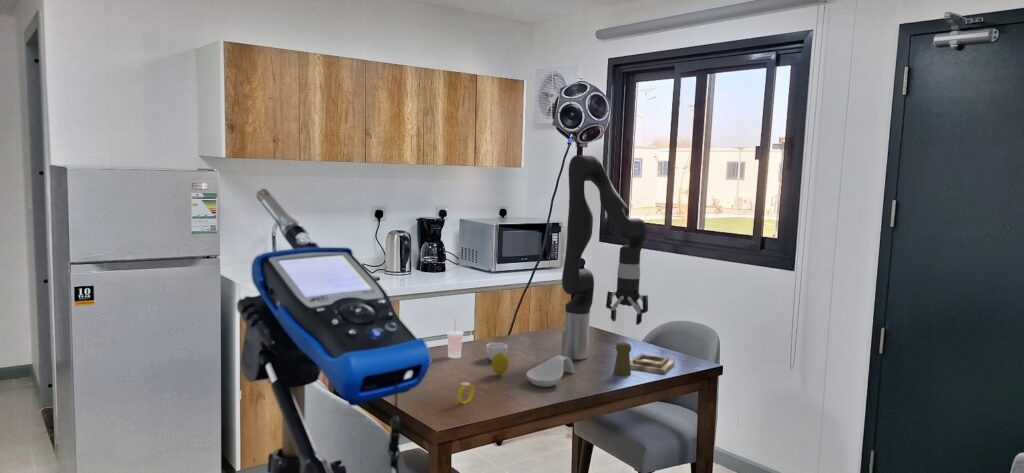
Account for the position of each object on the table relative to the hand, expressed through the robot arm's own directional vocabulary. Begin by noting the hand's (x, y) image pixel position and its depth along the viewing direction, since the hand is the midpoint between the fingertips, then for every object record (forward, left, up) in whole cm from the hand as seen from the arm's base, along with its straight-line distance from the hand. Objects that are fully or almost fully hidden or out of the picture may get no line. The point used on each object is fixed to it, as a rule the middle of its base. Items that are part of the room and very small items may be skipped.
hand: (625, 322), depth 241 cm
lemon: (-35, -25, -18) cm, 47 cm away
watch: (-31, -55, -18) cm, 66 cm away
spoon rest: (-18, -20, -19) cm, 33 cm away
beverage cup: (-60, -13, -18) cm, 64 cm away
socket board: (+6, +15, -18) cm, 24 cm away
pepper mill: (0, 0, -18) cm, 18 cm away
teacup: (-45, -7, -18) cm, 49 cm away
